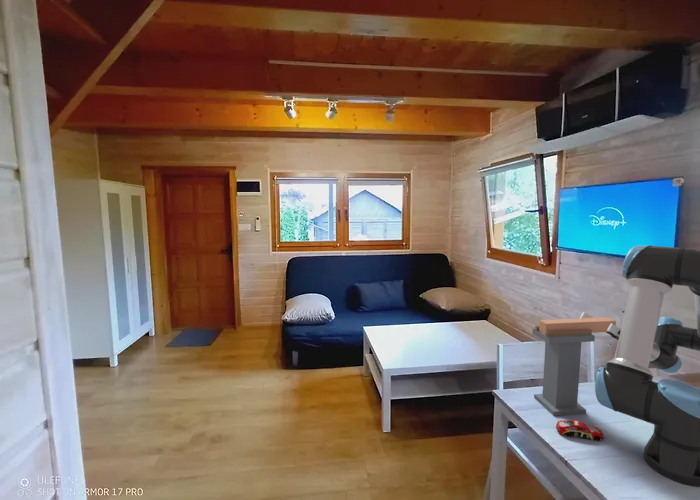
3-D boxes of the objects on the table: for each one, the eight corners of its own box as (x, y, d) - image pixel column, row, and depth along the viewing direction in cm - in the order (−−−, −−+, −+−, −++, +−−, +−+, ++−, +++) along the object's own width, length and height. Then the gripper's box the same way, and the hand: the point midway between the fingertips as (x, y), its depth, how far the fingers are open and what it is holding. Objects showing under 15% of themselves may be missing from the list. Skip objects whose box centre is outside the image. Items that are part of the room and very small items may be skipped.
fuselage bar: (606, 327, 139) (607, 317, 138) (615, 331, 135) (616, 320, 134) (538, 330, 136) (539, 320, 136) (545, 334, 132) (546, 323, 132)
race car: (600, 433, 122) (601, 422, 122) (605, 443, 117) (606, 431, 117) (554, 426, 127) (555, 415, 126) (558, 436, 121) (558, 424, 121)
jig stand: (569, 395, 145) (573, 321, 141) (591, 413, 133) (597, 332, 130) (527, 398, 144) (531, 323, 140) (546, 416, 132) (551, 334, 128)
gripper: (666, 370, 126) (616, 342, 124) (609, 343, 151) (567, 319, 148) (678, 351, 126) (629, 322, 123) (619, 326, 150) (577, 302, 148)
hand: (595, 320), depth 136 cm, fingers open, 13 cm apart
